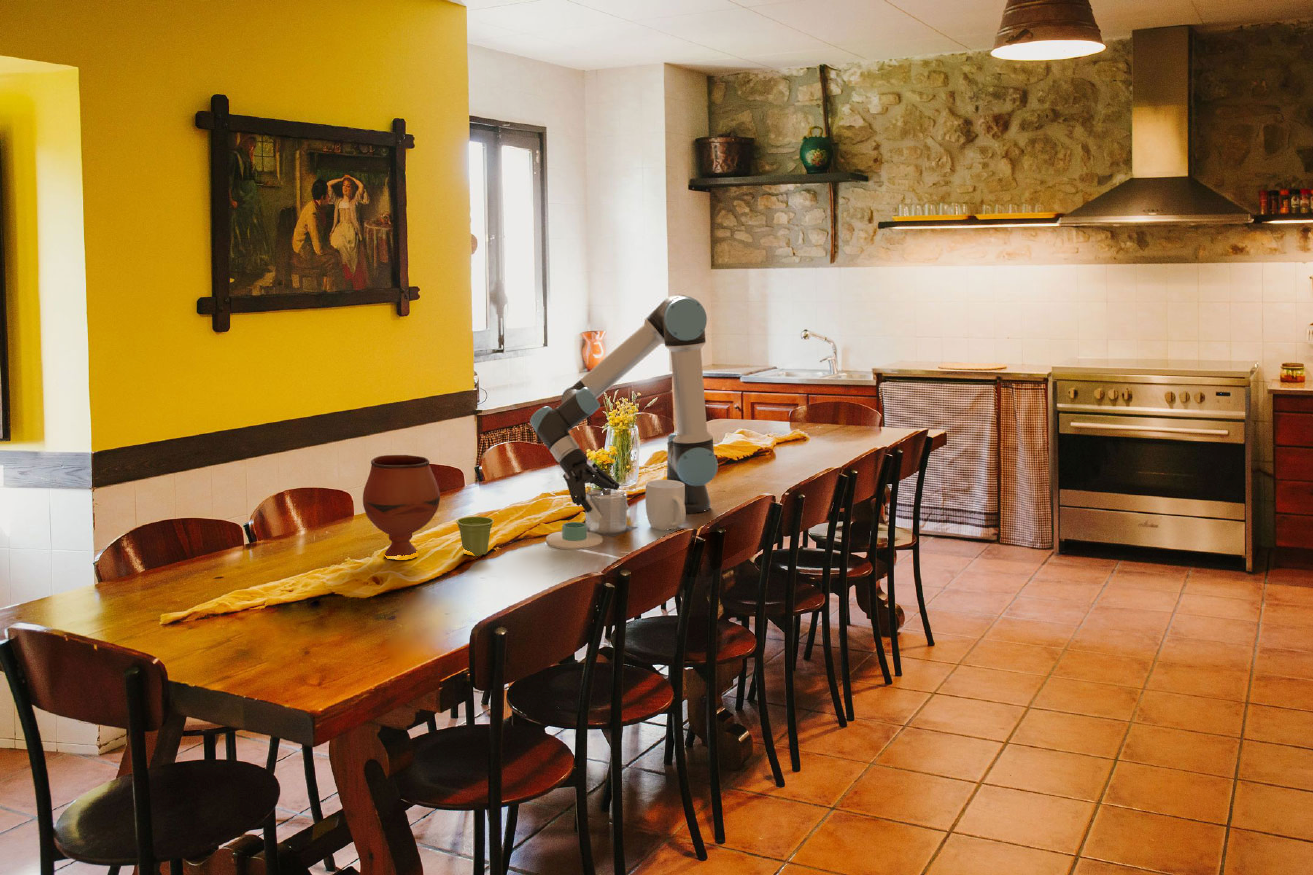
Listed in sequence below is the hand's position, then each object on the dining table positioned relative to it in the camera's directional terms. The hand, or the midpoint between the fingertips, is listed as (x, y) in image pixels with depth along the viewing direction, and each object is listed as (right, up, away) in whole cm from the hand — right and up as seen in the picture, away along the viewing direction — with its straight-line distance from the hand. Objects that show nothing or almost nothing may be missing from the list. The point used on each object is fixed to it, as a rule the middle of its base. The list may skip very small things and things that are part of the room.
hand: (612, 515), depth 320 cm
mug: (+15, -5, +5) cm, 16 cm away
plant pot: (-34, -8, -24) cm, 43 cm away
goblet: (-52, -9, -28) cm, 60 cm away
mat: (-2, -4, +2) cm, 5 cm away
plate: (-10, -6, -11) cm, 16 cm away
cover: (-2, -4, +2) cm, 5 cm away
